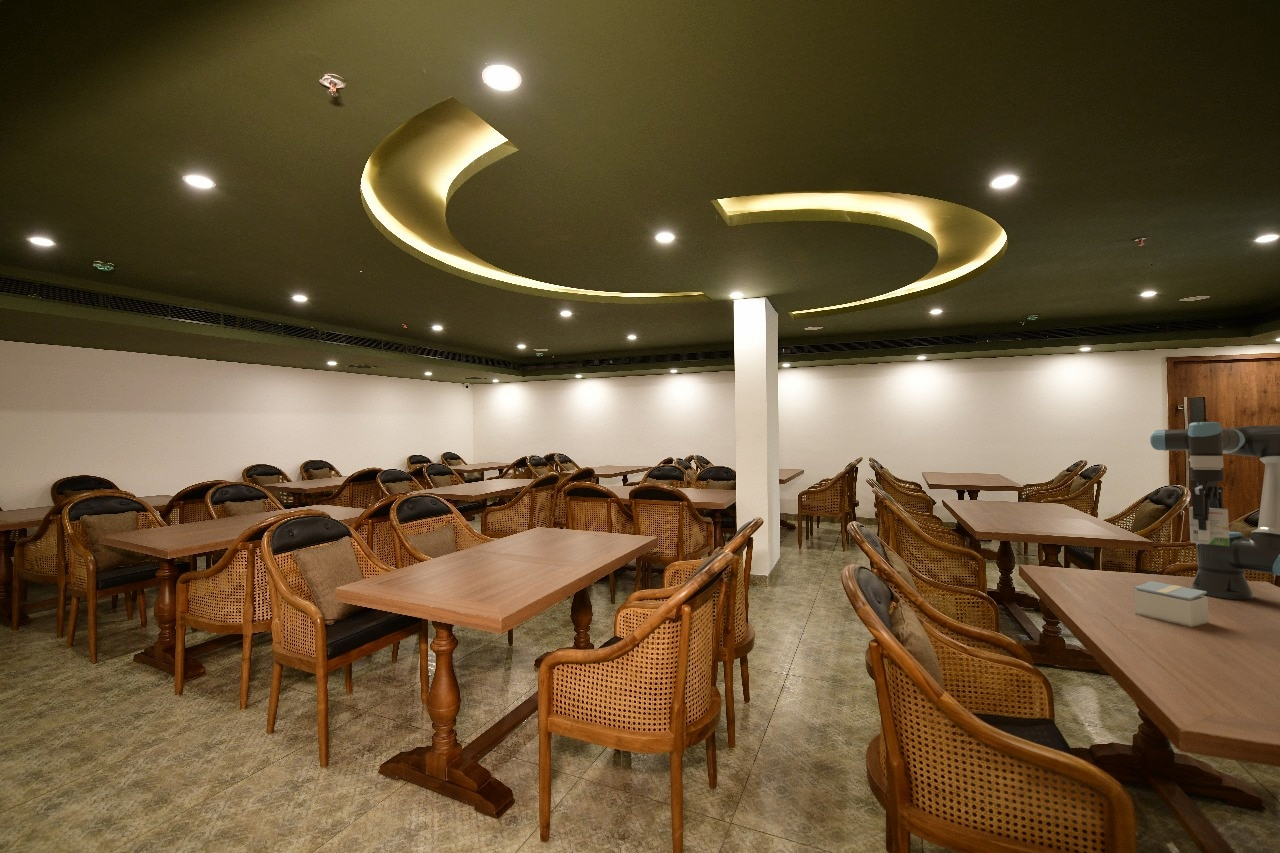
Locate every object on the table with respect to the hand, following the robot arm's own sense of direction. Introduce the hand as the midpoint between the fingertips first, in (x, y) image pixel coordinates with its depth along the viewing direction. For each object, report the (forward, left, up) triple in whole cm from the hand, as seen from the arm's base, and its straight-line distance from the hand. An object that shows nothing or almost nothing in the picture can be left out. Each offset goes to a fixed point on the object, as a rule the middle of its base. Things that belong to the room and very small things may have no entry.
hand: (1209, 539), depth 172 cm
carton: (+13, -5, -25) cm, 29 cm away
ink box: (0, 0, -2) cm, 2 cm away
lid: (+13, -5, -17) cm, 22 cm away
